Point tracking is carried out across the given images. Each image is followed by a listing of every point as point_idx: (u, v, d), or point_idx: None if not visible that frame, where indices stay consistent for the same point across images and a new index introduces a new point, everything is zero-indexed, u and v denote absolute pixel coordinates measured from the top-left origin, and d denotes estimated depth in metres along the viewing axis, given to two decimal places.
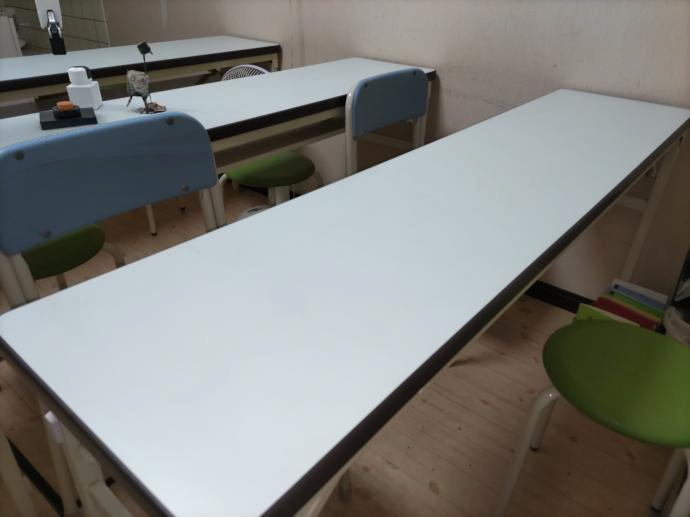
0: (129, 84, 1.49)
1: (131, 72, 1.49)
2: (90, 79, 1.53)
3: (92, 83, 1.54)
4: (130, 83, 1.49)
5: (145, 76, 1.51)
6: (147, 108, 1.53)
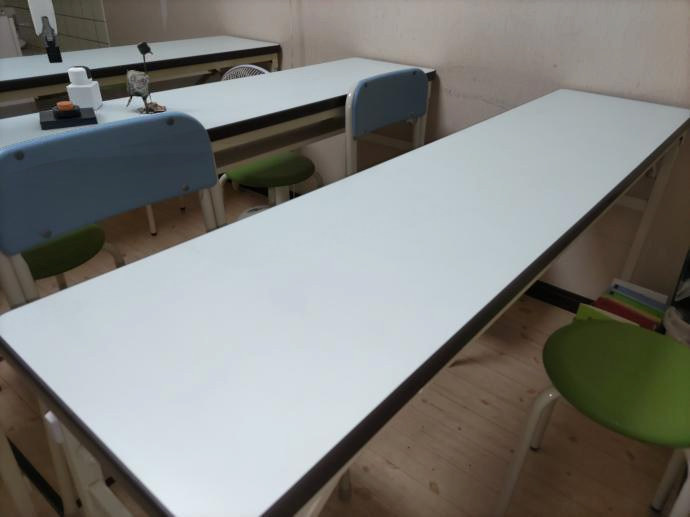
0: (129, 84, 1.49)
1: (131, 72, 1.49)
2: (90, 79, 1.53)
3: (92, 83, 1.54)
4: (130, 83, 1.49)
5: (145, 76, 1.51)
6: (147, 108, 1.53)
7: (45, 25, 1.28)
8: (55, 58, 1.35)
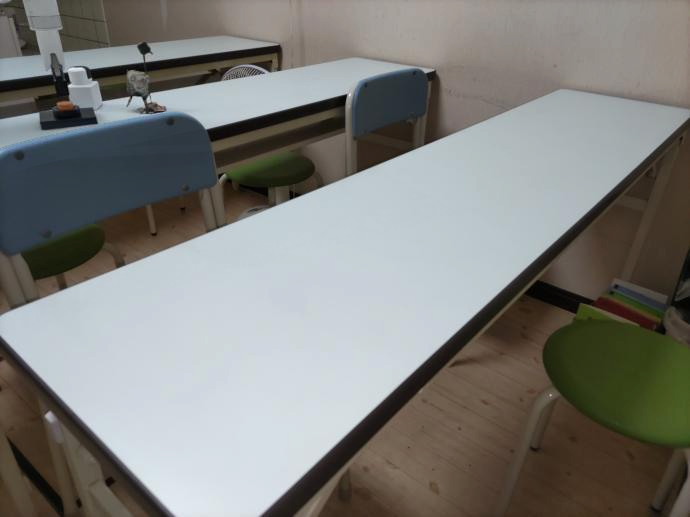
0: (129, 84, 1.49)
1: (131, 72, 1.49)
2: (90, 79, 1.53)
3: (92, 83, 1.54)
4: (130, 83, 1.49)
5: (145, 76, 1.51)
6: (147, 108, 1.53)
7: (53, 61, 1.32)
8: (62, 91, 1.39)
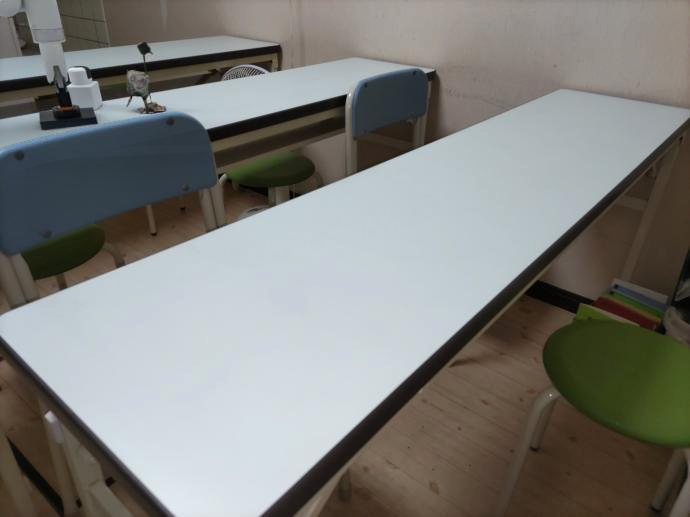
0: (129, 84, 1.49)
1: (131, 72, 1.49)
2: (90, 79, 1.53)
3: (92, 83, 1.54)
4: (130, 83, 1.49)
5: (145, 76, 1.51)
6: (147, 108, 1.53)
7: (56, 73, 1.34)
8: (65, 103, 1.41)
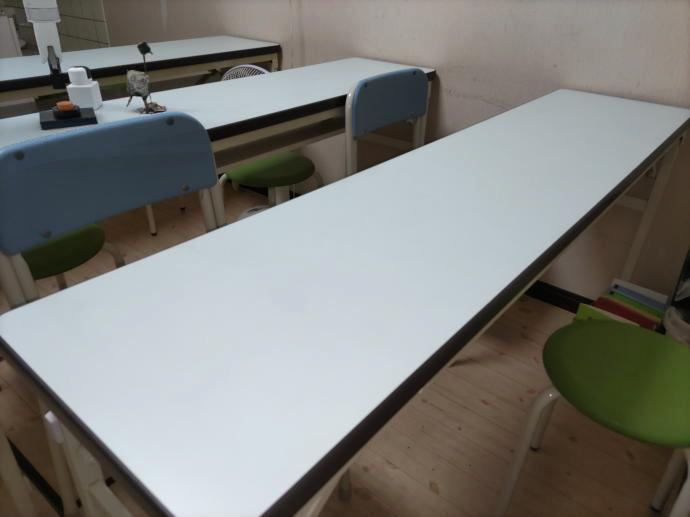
0: (129, 84, 1.49)
1: (131, 72, 1.49)
2: (90, 79, 1.53)
3: (92, 83, 1.54)
4: (130, 83, 1.49)
5: (145, 76, 1.51)
6: (147, 108, 1.53)
7: (50, 54, 1.31)
8: (59, 85, 1.38)
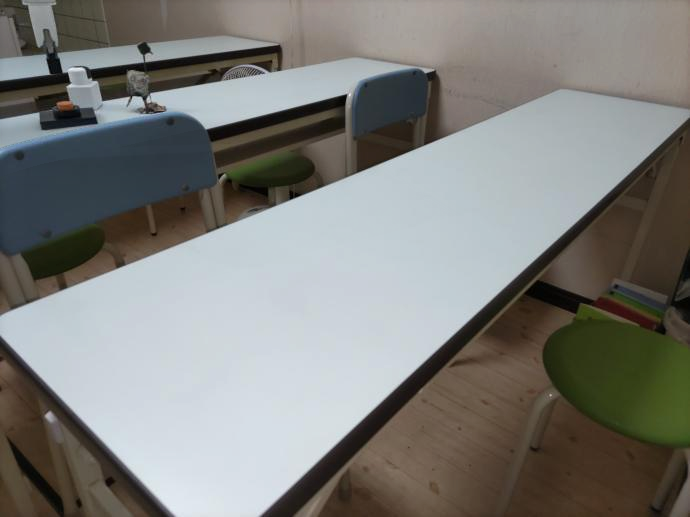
0: (129, 84, 1.49)
1: (131, 72, 1.49)
2: (90, 79, 1.53)
3: (92, 83, 1.54)
4: (130, 83, 1.49)
5: (145, 76, 1.51)
6: (147, 108, 1.53)
7: (46, 37, 1.29)
8: (55, 70, 1.36)
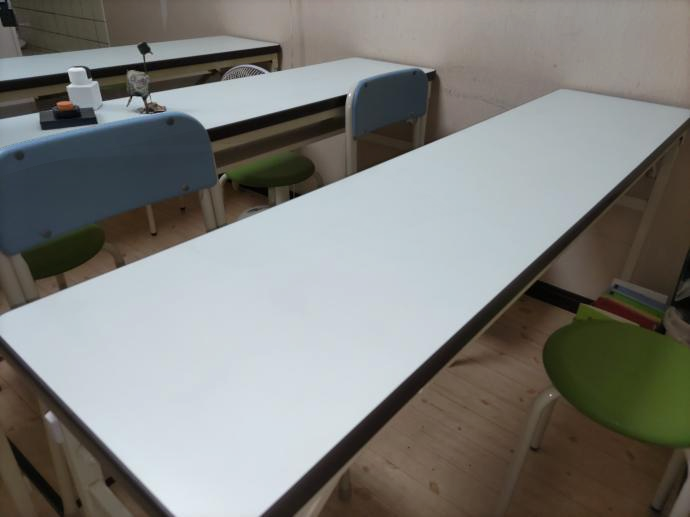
0: (129, 84, 1.49)
1: (131, 72, 1.49)
2: (90, 79, 1.53)
3: (92, 83, 1.54)
4: (130, 83, 1.49)
5: (145, 76, 1.51)
6: (147, 108, 1.53)
7: None
8: (8, 21, 1.27)
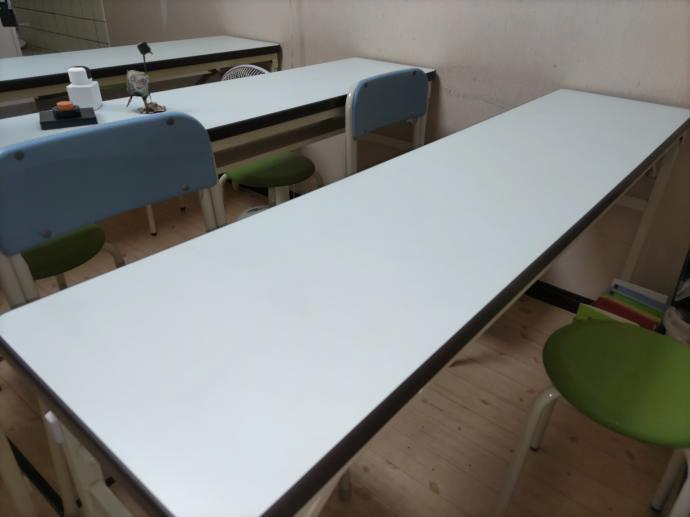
0: (129, 84, 1.49)
1: (131, 72, 1.49)
2: (90, 79, 1.53)
3: (92, 83, 1.54)
4: (130, 83, 1.49)
5: (145, 76, 1.51)
6: (147, 108, 1.53)
7: None
8: (8, 21, 1.27)
